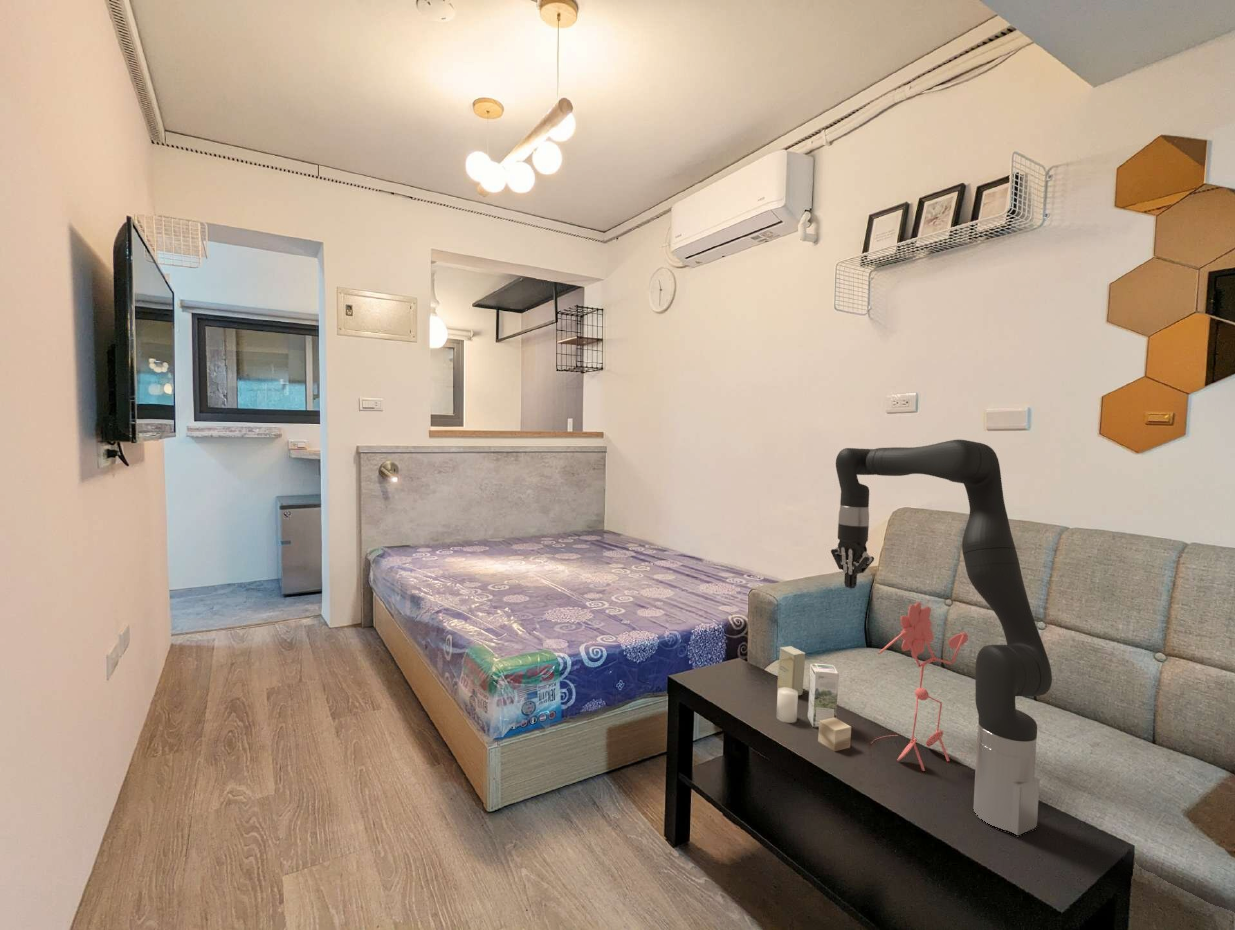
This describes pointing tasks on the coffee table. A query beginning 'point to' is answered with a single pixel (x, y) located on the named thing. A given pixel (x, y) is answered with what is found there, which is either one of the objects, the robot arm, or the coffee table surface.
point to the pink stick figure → (914, 639)
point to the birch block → (834, 734)
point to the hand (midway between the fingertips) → (850, 587)
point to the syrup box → (822, 693)
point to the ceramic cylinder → (787, 705)
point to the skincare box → (791, 669)
